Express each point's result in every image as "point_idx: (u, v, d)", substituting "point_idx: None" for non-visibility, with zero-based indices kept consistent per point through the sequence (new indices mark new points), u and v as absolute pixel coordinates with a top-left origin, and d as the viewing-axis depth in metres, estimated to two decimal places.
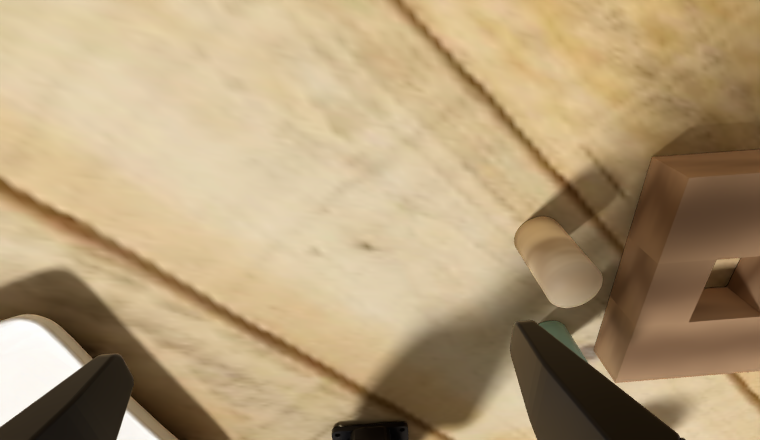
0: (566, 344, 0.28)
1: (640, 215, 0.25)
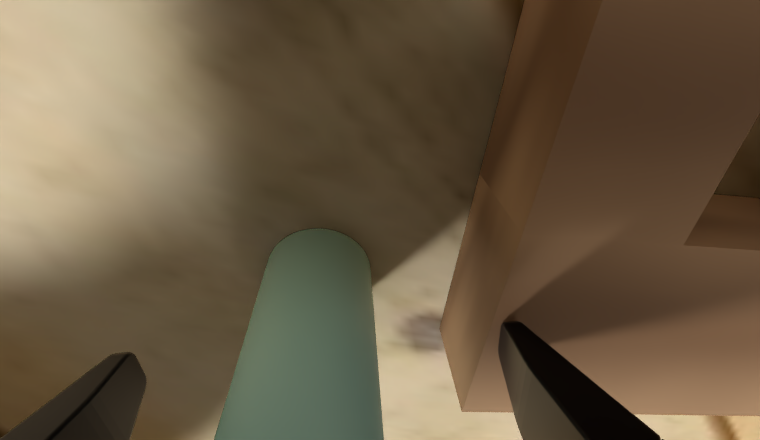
0: (324, 281, 0.09)
1: None
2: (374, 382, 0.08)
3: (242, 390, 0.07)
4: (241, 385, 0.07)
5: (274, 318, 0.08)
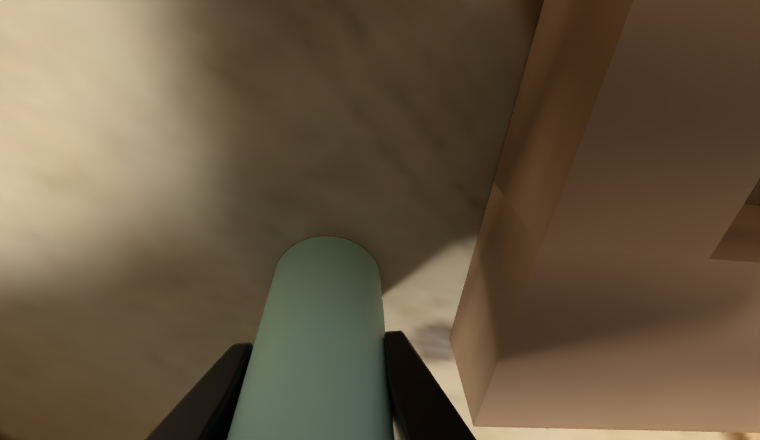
0: (334, 292, 0.09)
1: None
2: (386, 399, 0.07)
3: (250, 408, 0.07)
4: (249, 403, 0.07)
5: (282, 332, 0.08)
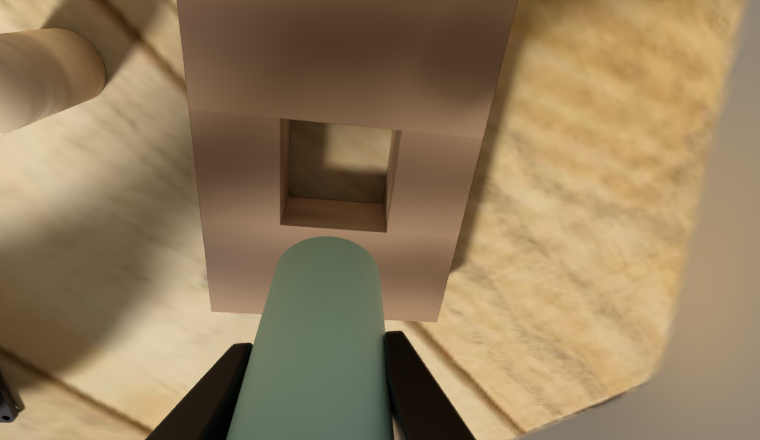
0: (334, 293, 0.09)
1: None
2: (385, 401, 0.07)
3: (249, 410, 0.07)
4: (248, 404, 0.07)
5: (282, 332, 0.08)
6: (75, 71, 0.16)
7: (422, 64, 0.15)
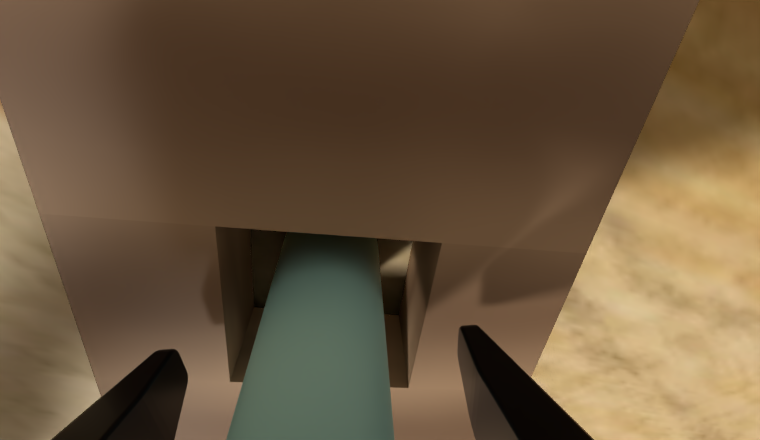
0: (337, 254, 0.10)
1: None
2: (381, 340, 0.09)
3: (266, 341, 0.08)
4: (265, 338, 0.08)
5: (292, 284, 0.09)
6: None
7: (489, 130, 0.08)
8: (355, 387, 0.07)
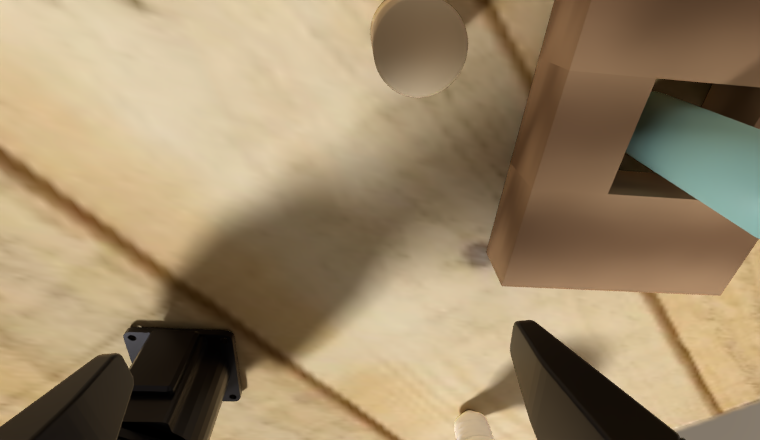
0: (694, 105, 0.17)
1: (557, 11, 0.16)
2: None
3: (707, 132, 0.15)
4: (703, 132, 0.15)
5: (688, 115, 0.16)
6: None
7: None
8: None
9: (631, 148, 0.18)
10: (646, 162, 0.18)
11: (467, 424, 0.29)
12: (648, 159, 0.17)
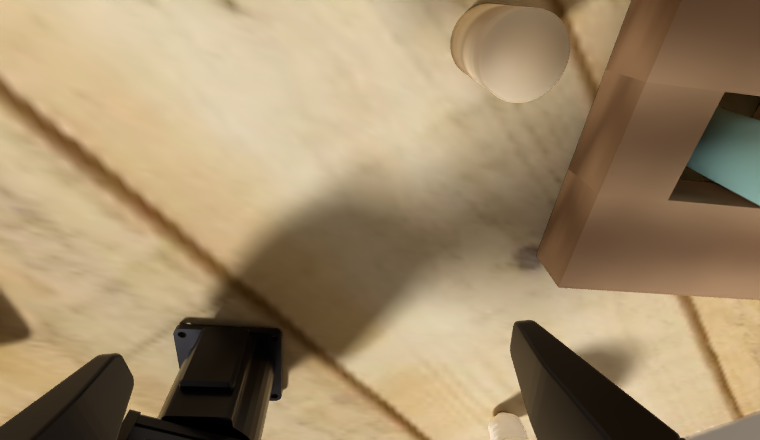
0: (752, 118, 0.18)
1: (628, 26, 0.17)
2: None
3: None
4: None
5: (751, 127, 0.17)
6: None
7: None
8: None
9: None
10: (705, 171, 0.19)
11: (503, 425, 0.29)
12: (708, 168, 0.18)
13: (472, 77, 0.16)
